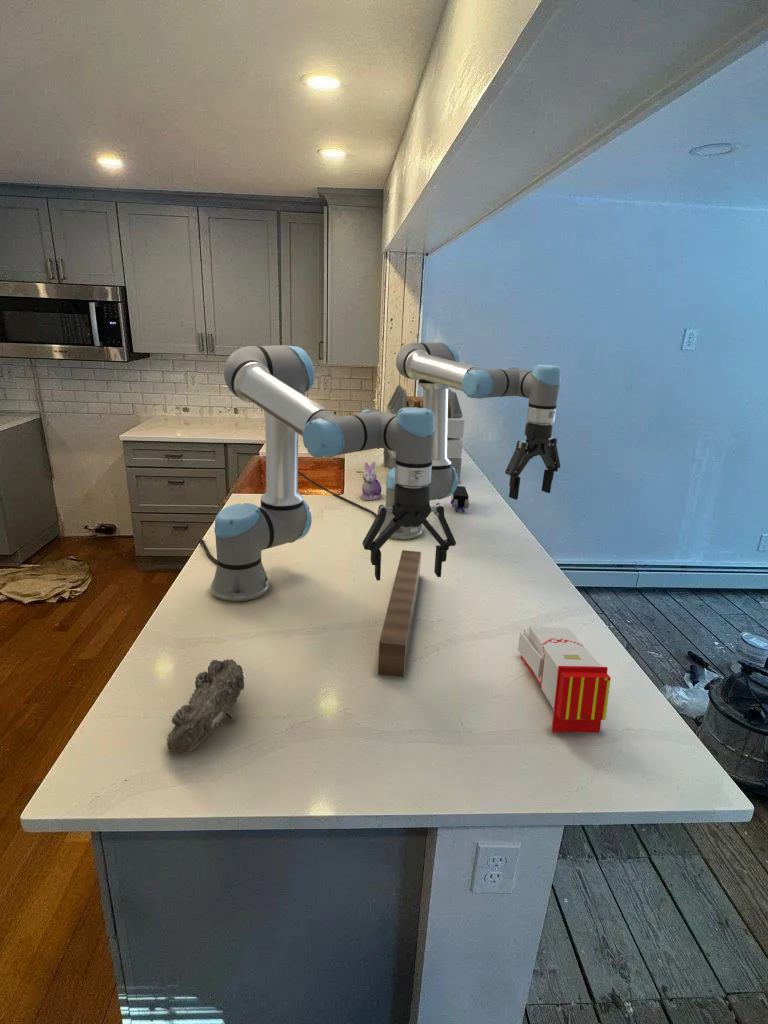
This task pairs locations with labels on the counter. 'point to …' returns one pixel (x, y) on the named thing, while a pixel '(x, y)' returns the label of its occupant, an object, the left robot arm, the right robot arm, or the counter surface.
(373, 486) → the figurine
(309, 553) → the counter surface
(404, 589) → the bar
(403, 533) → the right robot arm
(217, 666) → the fossil
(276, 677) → the counter surface
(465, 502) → the figurine character
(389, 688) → the counter surface
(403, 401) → the white wooden crate
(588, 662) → the toy
